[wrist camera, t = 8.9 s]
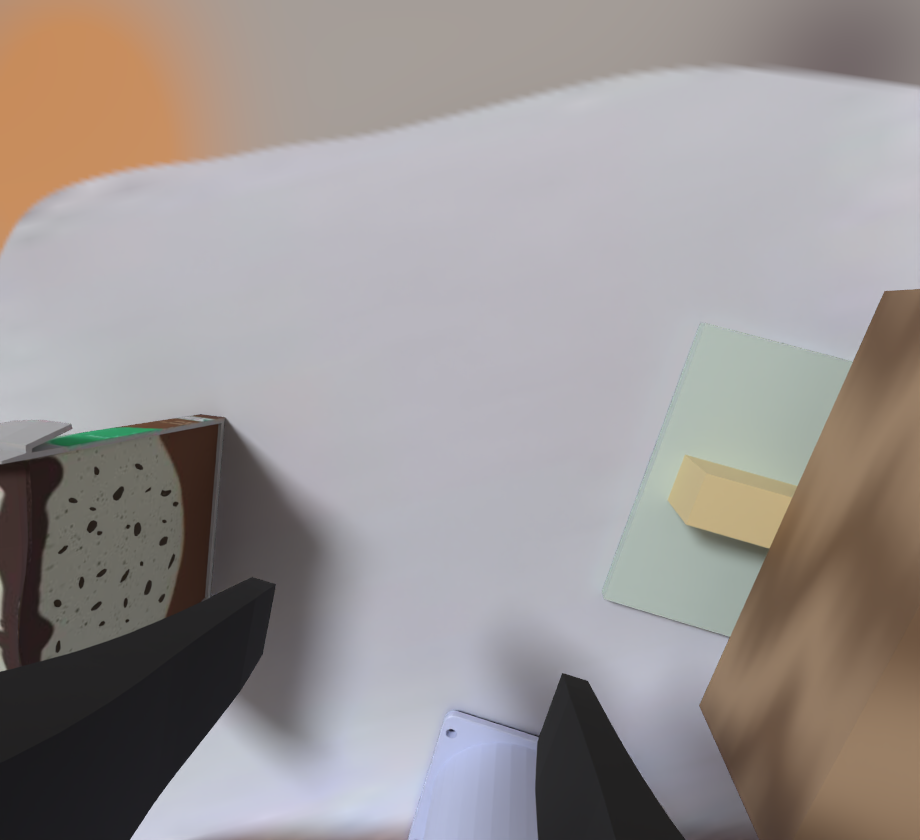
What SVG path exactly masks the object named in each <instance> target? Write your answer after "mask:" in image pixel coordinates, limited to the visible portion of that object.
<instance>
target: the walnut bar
mask: <svg viewBox="0 0 920 840" xmlns="http://www.w3.org/2000/svg"><path fill="white" fill-rule="evenodd" d="M699 706H700V708H701V711H702V713H703V715H704V717H705V720H706V722H707V724H708V726H709V728H710V731H711V733H712V735H713V737H714V740H715V742H716V744H717V746H718V749H719V751H720V753H721V755H722V758H723V760H724V762H725V764H726V767H727V769H728V771H729V773H730V775H731V778H732V780H733V782H734V784H735V787H736V789H737V791H738V793H739V796H740V798H741V800H742V802H743V805H744V807H745V809H746V811H747V813H748V816H749V818H750V820H751V822H752V825H753V827H754V829H755V831H756V834H757V836H758V838H759V840H920V289H914V290H897V291H884V294H883V296H882V298H881V300H880V303H879V305H878V307H877V309H876V311H875V314H874V316H873V318H872V320H871V323H870V325H869V327H868V329H867V332H866V334H865V336H864V338H863V341H862V343H861V345H860V347H859V350H858V352H857V354H856V356H855V358H854V361H853V363H852V365H851V367H850V370H849V372H848V374H847V376H846V379H845V381H844V383H843V385H842V388H841V390H840V392H839V394H838V396H837V399H836V401H835V403H834V405H833V408H832V410H831V412H830V414H829V417H828V419H827V421H826V423H825V426H824V428H823V430H822V432H821V434H820V437H819V439H818V441H817V443H816V446H815V448H814V450H813V452H812V455H811V457H810V459H809V461H808V464H807V466H806V468H805V470H804V473H803V475H802V477H801V479H800V481H799V484H798V486H797V488H796V490H795V493H794V495H793V497H792V499H791V502H790V504H789V506H788V508H787V511H786V513H785V515H784V517H783V519H782V522H781V524H780V526H779V528H778V531H777V533H776V535H775V537H774V540H773V542H772V544H771V546H770V549H769V551H768V553H767V555H766V557H765V560H764V562H763V564H762V566H761V569H760V571H759V573H758V575H757V578H756V580H755V582H754V584H753V587H752V589H751V591H750V593H749V596H748V598H747V600H746V602H745V604H744V607H743V609H742V611H741V613H740V616H739V618H738V620H737V622H736V625H735V627H734V629H733V631H732V634H731V636H730V638H729V640H728V642H727V645H726V647H725V649H724V651H723V654H722V656H721V658H720V660H719V663H718V665H717V667H716V669H715V672H714V674H713V676H712V678H711V680H710V683H709V685H708V687H707V689H706V692H705V694H704V696H703V698H702V701H701V703H700V705H699Z"/></svg>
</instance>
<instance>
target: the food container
mask: <svg viewBox="0 0 920 840" xmlns="http://www.w3.org/2000/svg"><path fill="white" fill-rule="evenodd" d="M224 423H225V417H217V416H209V415H202V414H200V415H194V416H187V417H181V418H174V419H168V420H161V421H155V422H148V423H142V424H135V425H129V426H122V427H116V428H109V429H103V430H96V431H90V432H83V433H77V434H70V435H64V436H59V435H61V434H63V433H65V432H67V431H69V430H71V429H72V425H71V424H69V423H61V422H54V421H46V420H23V421H10V422H5V423H0V671H5V670H9V669H13V668H17V667H21V666H25V665H29V664H32V663H36V662H40V661H43V660H47V659H51V658H54V657H58V656H62V655H66V654H69V653H72V652H76V651H79V650H82V649H85V648H88V647H91V646H94V645H97V644H100V643H103V642H106V641H109V640H112V639H114V638H117V637H120V636H123V635H125V634H128V633H131V632H133V631H135V630H138V629H140V628H143V627H145V626H147V625H150V624H152V623H155V622H157V621H159V620H162V619H164V618H167V617H169V616H171V615H174V614H176V613H178V612H180V611H183V610H185V609H187V608H189V607H191V606H193V605H195V604H198V603H200V602H202V601H204V600H206V599H208V598H210V595H211V583H212V570H213V558H214V546H215V534H216V521H217V509H218V497H219V485H220V472H221V460H222V448H223V436H224ZM56 436H57V437H56Z"/></svg>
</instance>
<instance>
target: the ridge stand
mask: <svg viewBox="0 0 920 840" xmlns="http://www.w3.org/2000/svg"><path fill="white" fill-rule="evenodd" d="M852 363H853V362H852V361H848V360H844V359H840V358H837V357H833V356H829V355H825V354H821V353H817V352H814V351H810V350H806V349H802V348H798V347H795V346H791V345H787V344H783V343H779V342H775V341H772V340H768V339H764V338H760V337H756V336H753V335H749V334H745V333H741V332H737V331H733V330H730V329H726V328H722V327H718V326H714V325H711V324H707V323H700V326H699V328H698V331H697V334H696V336H695V339H694V342H693V345H692V347H691V350H690V353H689V356H688V358H687V361H686V364H685V366H684V369H683V372H682V375H681V377H680V380H679V383H678V386H677V388H676V391H675V394H674V396H673V399H672V402H671V405H670V407H669V410H668V413H667V416H666V418H665V421H664V424H663V426H662V429H661V432H660V435H659V437H658V440H657V443H656V446H655V448H654V451H653V454H652V456H651V459H650V462H649V465H648V467H647V470H646V473H645V475H644V478H643V481H642V484H641V486H640V489H639V492H638V495H637V497H636V500H635V503H634V505H633V508H632V511H631V514H630V516H629V519H628V522H627V525H626V527H625V530H624V533H623V535H622V538H621V541H620V544H619V546H618V549H617V552H616V555H615V557H614V560H613V563H612V565H611V568H610V571H609V574H608V576H607V579H606V582H605V585H604V587H603V590H602V594H603V597H604V599H605V600H608V601H612V602H615V603H618V604H622V605H625V606H628V607H632V608H635V609H638V610H642V611H645V612H648V613H652V614H655V615H658V616H662V617H665V618H668V619H672V620H675V621H678V622H682V623H685V624H688V625H692V626H695V627H698V628H702V629H705V630H708V631H712V632H715V633H718V634H722V635H725V636H728V637H730V636H731V634H732V631H733V629H734V627H735V625H736V622H737V620H738V618H739V616H740V613H741V611H742V609H743V607H744V604H745V602H746V600H747V598H748V596H749V593H750V591H751V589H752V587H753V584H754V582H755V580H756V578H757V575H758V573H759V571H760V569H761V566H762V564H763V562H764V560H765V557H766V555H767V553H768V551H769V549H770V546H771V544H772V542H773V540H774V537H775V535H776V533H777V531H778V528H779V526H780V524H781V522H782V519H783V517H784V515H785V513H786V511H787V508H788V506H789V504H790V502H791V499H792V497H793V495H794V493H795V490H796V488H797V486H798V484H799V481H800V479H801V477H802V475H803V473H804V470H805V468H806V466H807V464H808V461H809V459H810V457H811V455H812V452H813V450H814V448H815V446H816V443H817V441H818V439H819V437H820V434H821V432H822V430H823V428H824V426H825V423H826V421H827V419H828V417H829V414H830V412H831V410H832V408H833V405H834V403H835V401H836V399H837V396H838V394H839V392H840V390H841V388H842V385H843V383H844V381H845V379H846V376H847V374H848V372H849V370H850V367H851V365H852Z"/></svg>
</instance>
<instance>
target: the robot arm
mask: <svg viewBox="0 0 920 840" xmlns="http://www.w3.org/2000/svg"><path fill="white" fill-rule="evenodd" d="M275 586H276V584H273V583H270V582H266V581H263V580H260V579H257V578H253V577H252V578H250V579H248V580H245V581H243V582H241V583H239V584H237V585H235V586H233V587H231V588H229V589H227V590H225V591H223V592H221V593H219V594H217V595H214V596H212V597H210V598H208V599H206V600H204V601H202V602H200V603H198V604H195V605H193V606H191V607H189V608H187V609H185V610H183V611H180V612H178V613H176V614H174V615H171V616H169V617H167V618H164V619H162V620H159V621H157V622H155V623H152V624H150V625H147V626H145V627H143V628H140V629H138V630H135V631H133V632H131V633H128V634H125V635H123V636H120V637H117V638H114V639H112V640H109V641H106V642H103V643H100V644H97V645H94V646H91V647H88V648H85V649H82V650H79V651H76V652H72V653H69V654H66V655H62V656H58V657H54V658H51V659H47V660H43V661H40V662H36V663H32V664H29V665H25V666H21V667H17V668H13V669H9V670H5V671H0V840H130V839H131V837H132V836H133V834H134V833H135V831H136V830H137V828H138V827H139V825H140V824H141V822H142V821H143V819H144V818H145V816H146V815H147V813H148V811H149V810H150V808H151V807H152V805H153V804H154V802H155V801H156V800H157V798H158V797H159V796H160V794H161V793H162V792H163V790H164V789H165V787H166V786H167V785H168V783H169V782H170V781H171V779H172V778H173V777H174V776H175V774H176V773H177V772H178V770H179V769H180V768H181V767H182V765H183V764H184V763H185V762H186V760H187V759H188V758H189V756H190V755H191V754H192V753H193V751H194V750H195V749H196V747H197V746H198V745H199V744H200V742H201V741H202V740H203V739H204V737H205V736H206V735H207V734H208V732H209V731H210V730H211V728H212V727H213V726H214V725H215V723H216V722H217V721H218V719H219V718H220V717H221V716H222V714H223V713H224V712H225V710H226V709H227V708H228V707H229V705H230V704H231V703H232V701H233V700H234V699H235V697H236V696H237V695H238V693H239V692H240V690H241V689H242V687H243V686H244V684H245V682H246V681H247V679H248V678H249V676H250V674H251V673H252V671H253V669H254V668H255V666H256V664H257V663H258V661H259V659H260V658H261V656H262V654H263V649H264V644H265V639H266V634H267V628H268V623H269V618H270V613H271V607H272V602H273V597H274V591H275ZM448 729H453V730H455V732H451V731H449V730H448ZM408 840H685V839H684V837H683V836H682V834H681V833H680V832H679V830H678V829H677V828H676V826H675V825H674V824H673V822H672V821H671V819H670V818H669V817H668V815H667V814H666V812H665V811H664V809H663V808H662V806H661V805H660V803H659V802H658V800H657V799H656V797H655V796H654V794H653V793H652V791H651V790H650V788H649V787H648V785H647V784H646V782H645V781H644V779H643V777H642V776H641V774H640V773H639V771H638V769H637V768H636V766H635V764H634V763H633V761H632V759H631V758H630V756H629V754H628V753H627V751H626V749H625V748H624V746H623V744H622V742H621V741H620V739H619V737H618V735H617V734H616V732H615V730H614V728H613V726H612V725H611V723H610V721H609V719H608V717H607V716H606V714H605V712H604V710H603V708H602V706H601V705H600V703H599V701H598V699H597V697H596V695H595V693H594V692H593V690H592V688H591V686H590V684H589V683H588V681H586V680H583V679H580V678H576V677H573V676H570V675H567V674H563V673H562V675H561V678H560V681H559V684H558V686H557V689H556V692H555V695H554V697H553V700H552V703H551V706H550V708H549V711H548V714H547V717H546V719H545V722H544V725H543V728H542V730H541V733H540V736H539V737H537V736H533V735H530V734H527V733H524V732H521V731H518V730H515V729H512V728H509V727H505V726H502V725H499V724H496V723H493V722H490V721H487V720H484V719H480V718H477V717H474V716H471V715H468V714H465V713H462V712H459V711H449V712H448V713H447V714H446V715H445V718H444V721H443V724H442V728H441V731H440V734H439V738H438V741H437V744H436V747H435V751H434V754H433V757H432V761H431V764H430V767H429V770H428V774H427V777H426V780H425V784H424V787H423V790H422V794H421V797H420V800H419V803H418V807H417V810H416V813H415V817H414V820H413V823H412V827H411V830H410V833H409V836H408Z"/></svg>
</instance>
